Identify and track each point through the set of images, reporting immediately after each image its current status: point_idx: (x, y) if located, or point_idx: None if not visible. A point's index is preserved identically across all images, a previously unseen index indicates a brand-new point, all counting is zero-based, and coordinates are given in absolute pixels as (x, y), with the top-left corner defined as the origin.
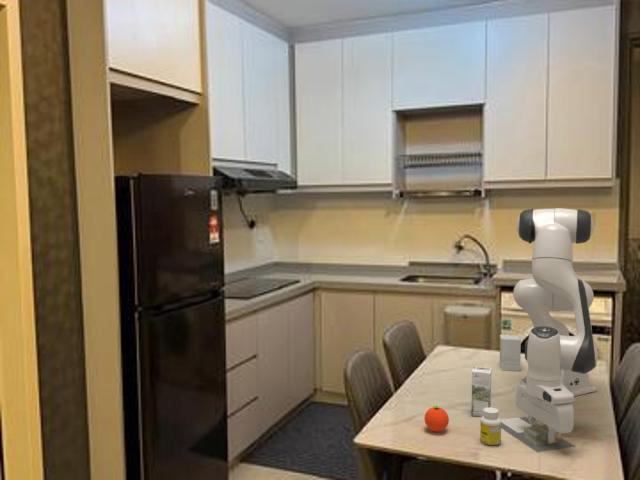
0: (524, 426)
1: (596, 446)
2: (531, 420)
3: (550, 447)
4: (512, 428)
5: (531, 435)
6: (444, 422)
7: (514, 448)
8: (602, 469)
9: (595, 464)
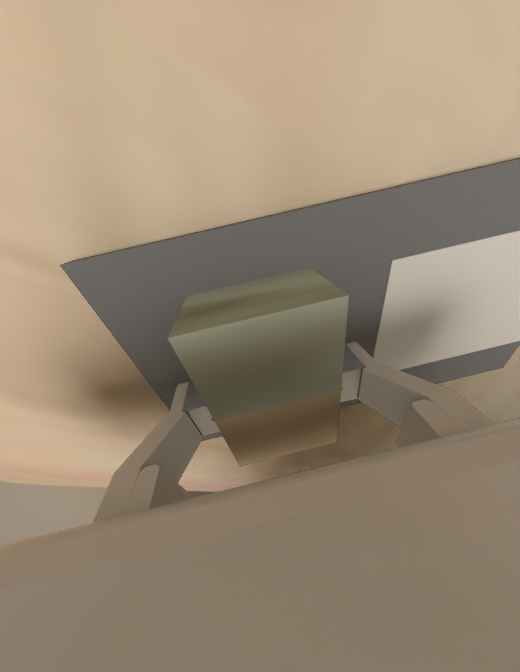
0: (437, 331)
1: (217, 471)
2: (403, 394)
3: (168, 365)
4: (463, 251)
5: (231, 308)
6: None
7: (155, 79)
8: (7, 461)
9: (52, 453)
